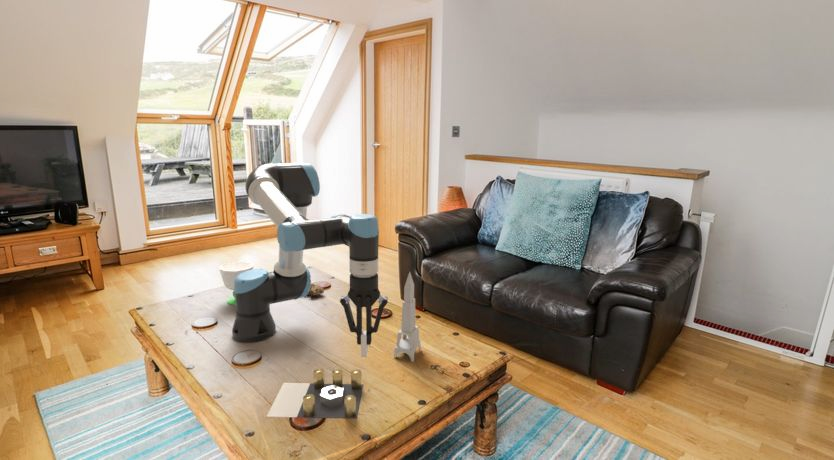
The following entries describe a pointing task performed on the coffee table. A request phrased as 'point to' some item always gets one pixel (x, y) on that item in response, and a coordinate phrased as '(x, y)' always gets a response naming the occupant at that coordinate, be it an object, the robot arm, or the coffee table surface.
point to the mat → (292, 401)
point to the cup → (233, 274)
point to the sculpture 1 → (315, 290)
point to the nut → (331, 396)
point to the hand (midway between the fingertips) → (364, 354)
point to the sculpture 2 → (408, 323)
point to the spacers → (337, 381)
